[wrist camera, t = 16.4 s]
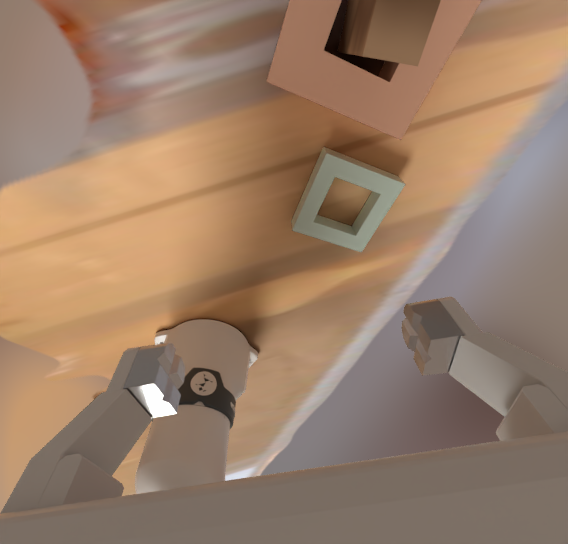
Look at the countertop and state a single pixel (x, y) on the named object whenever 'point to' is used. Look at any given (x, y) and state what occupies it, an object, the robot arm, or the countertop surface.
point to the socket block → (353, 80)
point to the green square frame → (370, 215)
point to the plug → (388, 29)
